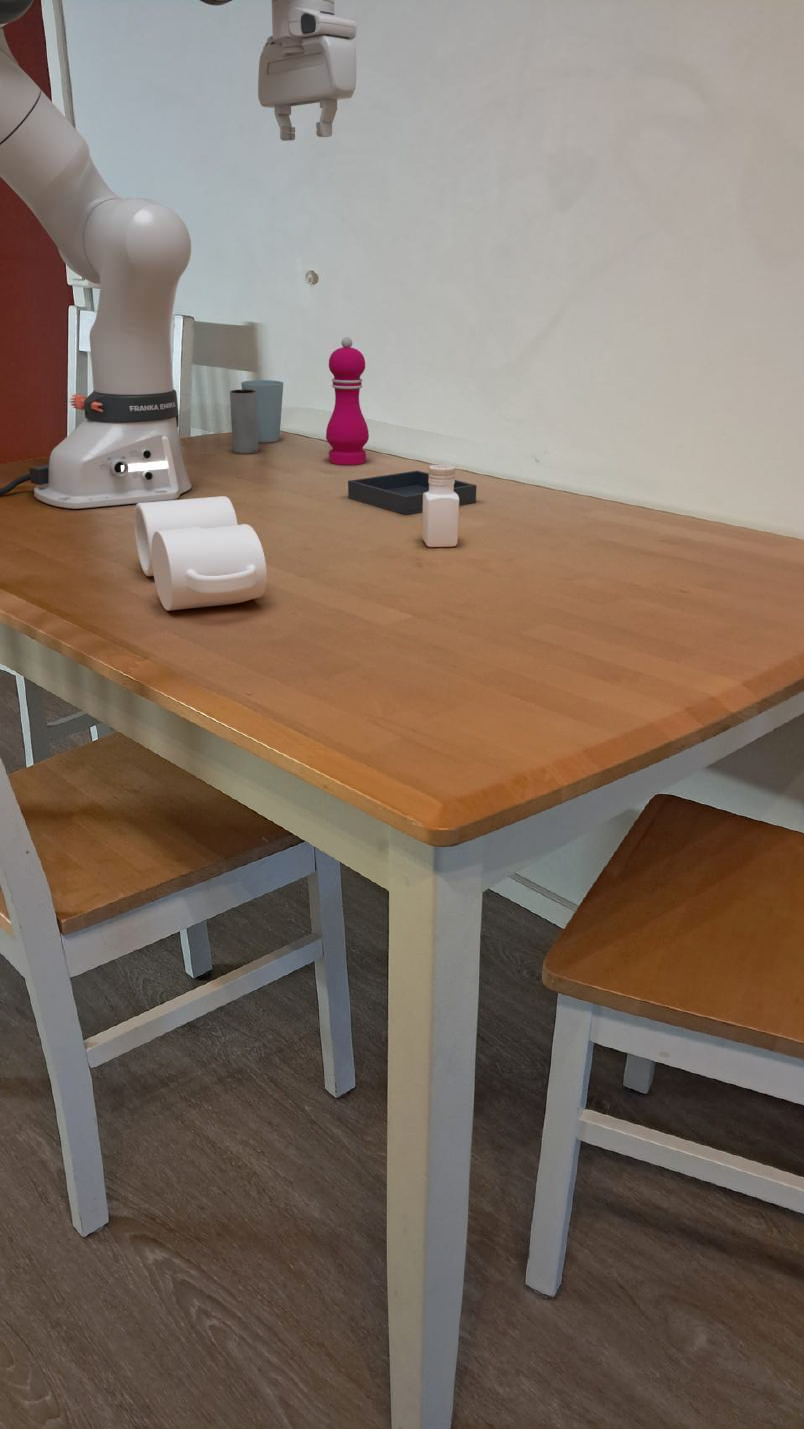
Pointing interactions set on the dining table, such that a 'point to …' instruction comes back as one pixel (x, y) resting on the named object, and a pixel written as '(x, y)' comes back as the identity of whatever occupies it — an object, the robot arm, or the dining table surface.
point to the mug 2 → (208, 566)
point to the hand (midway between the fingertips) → (305, 138)
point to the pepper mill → (347, 407)
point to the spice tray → (402, 491)
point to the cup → (267, 407)
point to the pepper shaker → (440, 508)
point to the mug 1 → (177, 520)
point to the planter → (244, 421)
